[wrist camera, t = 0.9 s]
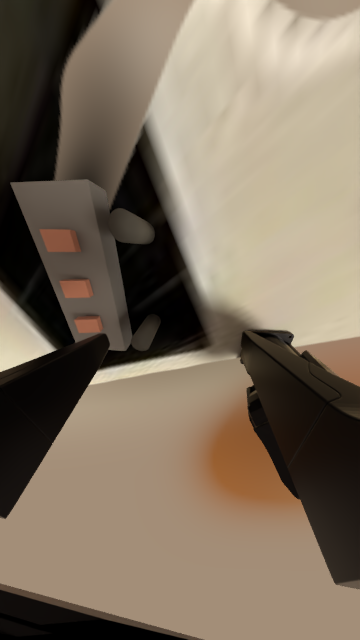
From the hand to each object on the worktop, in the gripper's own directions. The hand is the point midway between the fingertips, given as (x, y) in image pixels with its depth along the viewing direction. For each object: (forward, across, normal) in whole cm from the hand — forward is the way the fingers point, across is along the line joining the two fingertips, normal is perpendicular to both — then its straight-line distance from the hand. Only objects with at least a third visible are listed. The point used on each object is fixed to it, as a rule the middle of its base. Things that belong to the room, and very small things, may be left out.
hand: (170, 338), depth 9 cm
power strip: (+12, +13, -2) cm, 18 cm away
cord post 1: (+12, +4, -7) cm, 15 cm away
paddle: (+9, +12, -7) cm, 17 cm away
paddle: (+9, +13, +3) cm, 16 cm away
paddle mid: (+9, +13, -2) cm, 16 cm away
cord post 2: (+12, +5, +5) cm, 14 cm away
